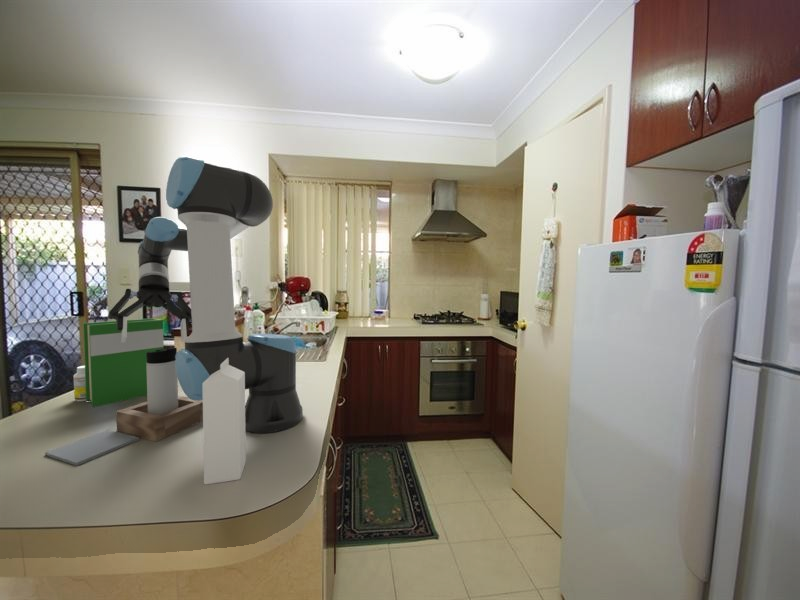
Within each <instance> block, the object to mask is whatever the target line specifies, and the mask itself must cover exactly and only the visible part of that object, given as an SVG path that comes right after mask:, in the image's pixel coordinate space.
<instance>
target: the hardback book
mask: <svg viewBox="0 0 800 600" xmlns="http://www.w3.org/2000/svg"><path fill="white" fill-rule="evenodd" d="M82 325H83V326H82V328H83V329H82V330H83V332H82V333H83V355H84V365H85V384H86V401H91V408H96V407H95V406H97V407H101V406H106V405H110V404H114V403H118V402H121V401H122V402H123V401H127V400H130V399H136V398H140V397H143V396H144V397H146V396H147V367H146V366H147V364H146V362H147V357H146V353H147V352H154V351H156V350H160V349H165V347H164V320H163V319H160V318H156V317H155V318H152V317H151V318H140V319H139V318H138V319H127V338H126V341H125V342H122V330H117V322H116V320H107V321H93V322H83V323H82ZM86 401H85V402H86Z"/></svg>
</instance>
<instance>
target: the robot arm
mask: <svg viewBox="0 0 800 600" xmlns="http://www.w3.org/2000/svg"><path fill="white" fill-rule="evenodd" d="M167 178H168V179H167V182H166V189H165V201H166V204H167V206H168V207H169V208H171V209H173V210H177V218H178V219H177V220H179V222H181V223H182V224H183V225H185V227H180V226H179V225H178V224H177V222H175V221H174V220H173V219H170V218H169V219H168V218H167V217H165V216H156V217H153V218H151V219H150V220H149V222H148V224H147V225H146V227H145V230H144V236H143V240H141V241H140V242H139V244H138V250H137V254H138V291H133V290H131V288H126V289H125V292H124V295H123V296H122V297H121V298H120V299H119V301H117V302H116V304H114V306H113V307H112V308H111V309H110V310H109V312H108V316H107V318H108V319H109V320H114V321H116V322H117V330H122V342H125V341H126V338H127V320H128V317H129V316H131V315H133V313H134V312H136V311H138V310H139V309H142V308H143V307H145V306H146V307H148V308H152V307H153V308H154V307H155V308H161V307H162V308H164V309H165V310H168V311H169V312H170V313H171V314H173V316H175V317H176V318H177V319H179V320H180V336H181V337H180V339H181V342H184V348H181V349H180V350H178V351H177V353H176V356H175V358H176V360H175V368H176V373H177V377H178V383H179V385H180V387H181V389H182V392H183V393H184V394H185V397H188V398H190V399H192V400H195V401H200V400H203V391H202V383H203V382H204V381H205V380H206V379H207V378H208V377H209V376H211V375H212V374H213V373H215V372H216V371H218V370H220V365H221V363H223V362H224V361H225V360H226V359H227V358H229V365H230V366H233V367H235V368H237V369H239V370H241V371H243V372H245V391H246V390H248V396H247V399H246V401H245V432H246V431H247V432H250V433H255V434H256V433H257V434H268V433H269V434H271V433H277V432H280V431H284V430H288V429H290V428H292V427H294V426H296V425H298V424H299V423H300V422H301V421H302V420H303V415H304V414H303V409H304V408H303V406H302V405H301V402H300V398H299V395H298V391H297V381H296V380H297V374H296V373H297V372H296V371H297V363H296V361H297V358H296V357H297V347H296V340H295V339H294V337H291V336H289V335H285V334H276V333H252V334H249V335H248V337H247V341H244V336H243V333H241V332H239V331H238V330H237V329H236V319H235V300H234V298H235V297H234V296H235V295H234V283H233V279H234V278H233V264H232V245H231V240H232V239H233V238H234V237H236V236H237V235H239V234H240V233H242V232H244V231H245V230H246V229H248V228H249V227H250V228H251V227H252V228H253V227H254V228H255V227H257V226H260V225H262V224H263V223H264V222H265V221H267V220H268V219H269V217H270V216H271V214H272V212H273V208H274V207H273V206H274V201H273V196H272V194H271V193H272V192H271V190H270V189H269V187H268V186H267V184H265V182H264V181H263V180H262V179H261V178H259V177H258V176H256V175H255V174H253V173H251V172H247V171H244V170H239V169H236V168H232V167H229V166H225V165H222V164H219V163H216V162H211V161H209V160H205V158H195V157H194V156H193V157H192V156H189V155H188V156H187V155H182V156H179V157H178V158H177V159H176V160H175V161H174V162H173V164H172V167H171V169H170V171H169V173H168V177H167ZM172 251H180V252H181V251H183V252H187V254H188V255H187V256H188V257H187V258H188V275H189V295H190V306H189V305H188V303H187V302H186V301H185V300H184V297H183V294H182V293H181V292H178V293H177V294H171V292H170V277H169V276H170V275H169V263H168V262H169V257H170V255H171V253H172ZM135 297H136V298H137V299H138V300H137V301H135V302H134V303H132V304H131V305H129V306H127V307H126V308H125V309H123V308H124V307H125V306H126V304H127V303H128V302H129V301H130V300H132V299H133V298H135ZM173 301H174V302H173ZM174 303H176V304H177V305H176V304H174ZM121 310H122V311H121ZM190 322H191V323H190ZM190 329H191V331H192V332H191V333H190V335H189V336H188V335H187V334H188V333H187V332H188V331H189V330H190Z"/></svg>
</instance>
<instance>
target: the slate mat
mask: <svg viewBox="0 0 800 600" xmlns="http://www.w3.org/2000/svg"><path fill="white" fill-rule="evenodd" d="M138 441H139V437H137V436H133V435H129V434H125V433H121V432H117V431H114V430H110V429H106V430H103V431H101V432H98V433H95V434H93V435H90V436H87V437H84V438H81V439H78V440H74V441H73V442H70V443H67V444H65V445H61V446H59V447H56V448H53V449H51V450H48V451H45V452H44V456H46V455H47V456H46V457H49V458H53V459H56V460H58V459H59V461H61V460H62V461H61V462H64V463H67V462H68V464H71V465H73V466H80V465H82V464H85V463H88V462H89V461H91V460H94V459H96V458H99V457H102V456H103V455H105V454H108V453H111V452H113V451H115V450H118V449H120V448H122V447H126V446H127V445H131V444H132V443H135V442H138Z"/></svg>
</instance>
